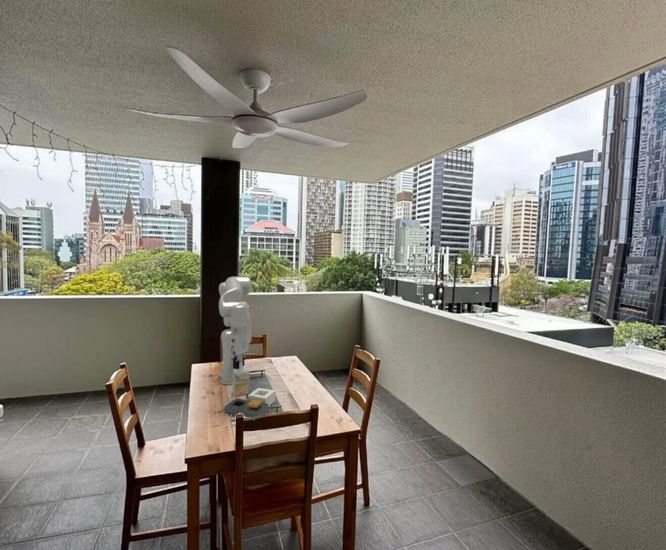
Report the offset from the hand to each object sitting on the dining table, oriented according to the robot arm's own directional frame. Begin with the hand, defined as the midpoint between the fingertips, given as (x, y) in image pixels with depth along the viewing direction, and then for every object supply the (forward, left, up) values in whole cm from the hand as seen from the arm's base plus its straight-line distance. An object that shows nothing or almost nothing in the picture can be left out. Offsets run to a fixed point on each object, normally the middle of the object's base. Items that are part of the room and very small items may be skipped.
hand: (238, 366), depth 164 cm
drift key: (+9, 0, -21) cm, 23 cm away
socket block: (+5, 0, -22) cm, 23 cm away
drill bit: (0, 0, -5) cm, 5 cm away
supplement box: (-10, +18, -22) cm, 31 cm away
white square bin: (+7, +11, -22) cm, 26 cm away
